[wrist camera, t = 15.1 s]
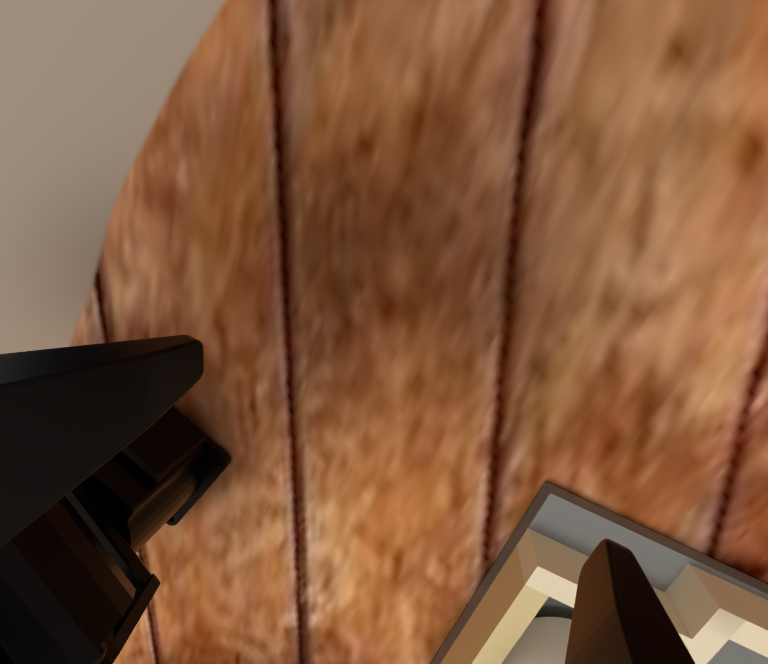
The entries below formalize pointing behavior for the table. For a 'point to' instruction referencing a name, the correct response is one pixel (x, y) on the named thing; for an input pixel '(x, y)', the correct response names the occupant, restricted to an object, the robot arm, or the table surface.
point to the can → (542, 642)
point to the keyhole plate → (561, 574)
